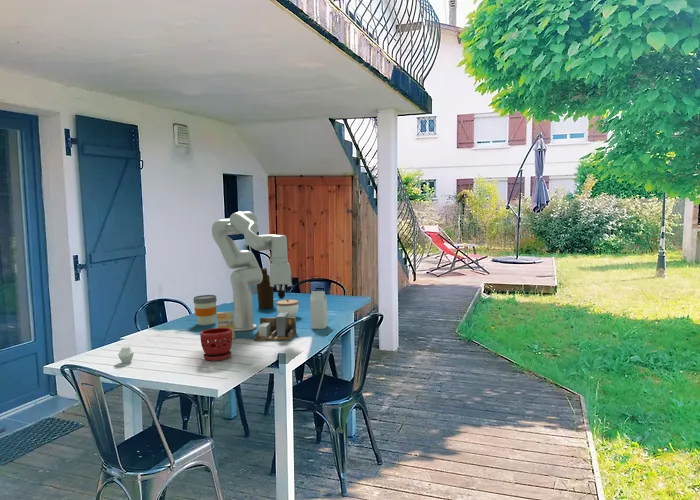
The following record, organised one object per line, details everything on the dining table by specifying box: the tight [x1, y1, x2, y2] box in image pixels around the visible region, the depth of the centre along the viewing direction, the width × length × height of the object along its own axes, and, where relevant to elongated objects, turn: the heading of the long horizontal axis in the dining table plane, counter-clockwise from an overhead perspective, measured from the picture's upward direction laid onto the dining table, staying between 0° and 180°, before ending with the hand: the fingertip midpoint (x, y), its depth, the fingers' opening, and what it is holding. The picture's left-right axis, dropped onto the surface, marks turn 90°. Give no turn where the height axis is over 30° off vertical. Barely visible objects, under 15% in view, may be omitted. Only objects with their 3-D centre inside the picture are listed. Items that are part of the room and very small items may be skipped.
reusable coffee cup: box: [193, 294, 217, 326], centre depth 287 cm, size 13×13×15 cm
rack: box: [253, 316, 297, 342], centre depth 251 cm, size 18×14×8 cm
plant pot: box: [199, 327, 233, 362], centre depth 218 cm, size 13×13×12 cm
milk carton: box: [309, 290, 329, 330], centre depth 266 cm, size 7×7×19 cm
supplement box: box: [216, 310, 236, 340], centre depth 251 cm, size 8×5×13 cm, turn 105°
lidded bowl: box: [276, 297, 300, 317], centre depth 295 cm, size 13×13×11 cm
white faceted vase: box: [117, 345, 135, 364], centre depth 217 cm, size 6×6×7 cm
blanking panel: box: [275, 312, 289, 337], centre depth 250 cm, size 4×10×10 cm, turn 175°
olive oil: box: [256, 267, 275, 309], centre depth 327 cm, size 11×11×25 cm
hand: (281, 298), depth 249 cm, fingers closed
